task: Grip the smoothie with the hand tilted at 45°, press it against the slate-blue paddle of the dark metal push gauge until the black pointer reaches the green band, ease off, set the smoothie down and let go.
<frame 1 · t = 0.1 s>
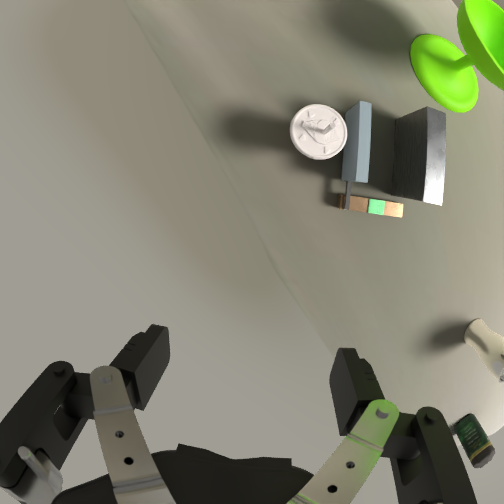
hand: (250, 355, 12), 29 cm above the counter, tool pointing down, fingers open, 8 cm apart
gauge frame: (373, 152, 36), on the counter
wineglass: (446, 71, 30), on the counter
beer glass: (473, 330, 42), on the counter
gauge paddle: (355, 158, 32), point 5 cm above the counter, slide at 0.0 cm
coffee jar: (464, 422, 50), on the counter
smoothie: (308, 142, 36), on the counter
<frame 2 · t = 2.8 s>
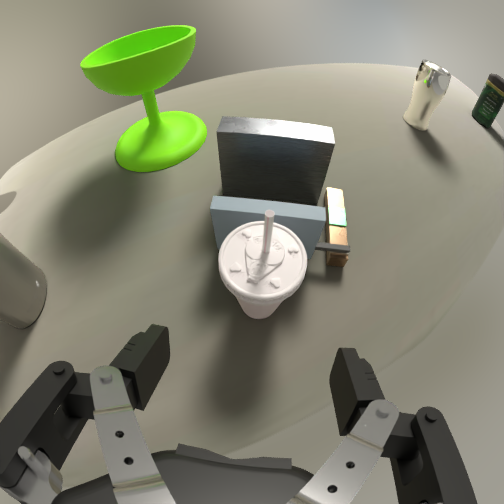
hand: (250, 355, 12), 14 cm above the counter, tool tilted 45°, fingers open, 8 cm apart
gauge frame: (267, 221, 33), on the counter
wineglass: (159, 139, 41), on the counter
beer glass: (414, 123, 47), on the counter
gauge paddle: (286, 232, 26), point 4 cm above the counter, slide at 0.0 cm
coffee jar: (480, 120, 55), on the counter
smoothie: (258, 302, 28), on the counter
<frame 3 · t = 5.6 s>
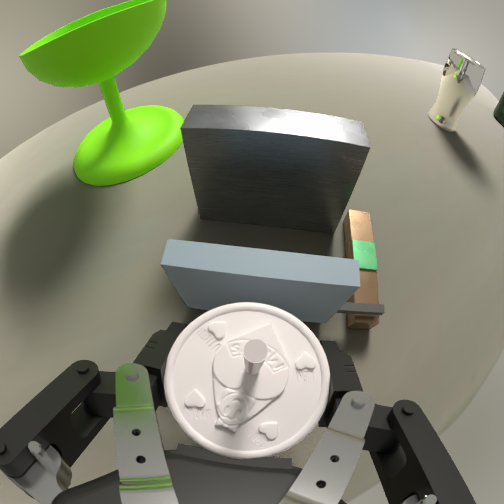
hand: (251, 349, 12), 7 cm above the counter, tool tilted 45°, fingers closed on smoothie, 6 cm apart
gauge frame: (263, 260, 22), on the counter
wineglass: (127, 142, 31), on the counter
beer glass: (441, 122, 37), on the counter
gauge paddle: (291, 292, 16), point 5 cm above the counter, slide at 0.0 cm
coffee jar: (502, 122, 44), on the counter
smoothie: (247, 386, 18), on the counter, touching gripper
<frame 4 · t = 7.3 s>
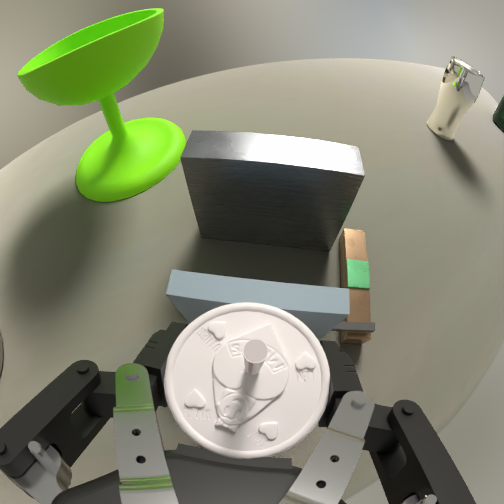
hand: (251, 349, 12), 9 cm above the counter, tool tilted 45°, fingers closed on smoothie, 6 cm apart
gauge frame: (261, 279, 24), on the counter
wineglass: (128, 156, 32), on the counter
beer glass: (439, 130, 37), on the counter
gauge paddle: (287, 314, 17), point 5 cm above the counter, slide at 0.0 cm
coffee jar: (501, 126, 45), on the counter
smoothie: (247, 386, 18), point 2 cm above the counter, touching gripper
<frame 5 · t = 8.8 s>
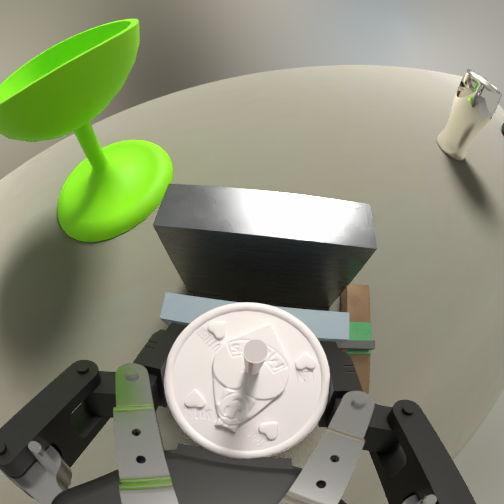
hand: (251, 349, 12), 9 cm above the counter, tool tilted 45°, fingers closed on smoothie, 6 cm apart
gauge frame: (253, 341, 21), on the counter
wineglass: (111, 186, 29), on the counter
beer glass: (450, 149, 35), on the counter
gauge paddle: (285, 335, 17), point 5 cm above the counter, slide at 4.1 cm, touching smoothie
smoothie: (247, 386, 18), point 2 cm above the counter, touching gauge paddle, gripper
when the fingers open (8 cm above the counter, at t = 11.2 s): smoothie stays where it is, on the counter.
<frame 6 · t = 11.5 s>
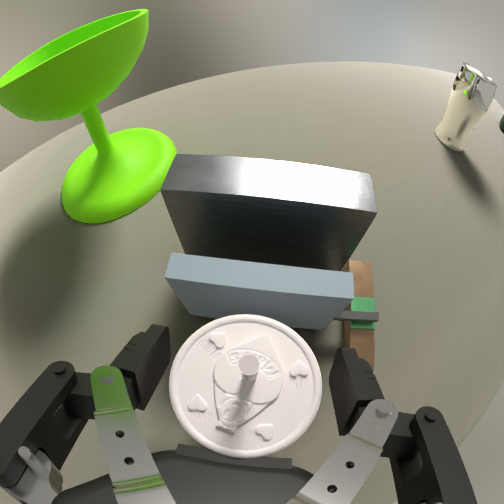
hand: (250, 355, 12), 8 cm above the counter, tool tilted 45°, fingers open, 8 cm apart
gauge frame: (256, 317, 21), on the counter
wineglass: (115, 171, 30), on the counter
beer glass: (448, 141, 35), on the counter
gauge paddle: (289, 301, 17), point 5 cm above the counter, slide at 4.2 cm
smoothie: (248, 389, 19), on the counter
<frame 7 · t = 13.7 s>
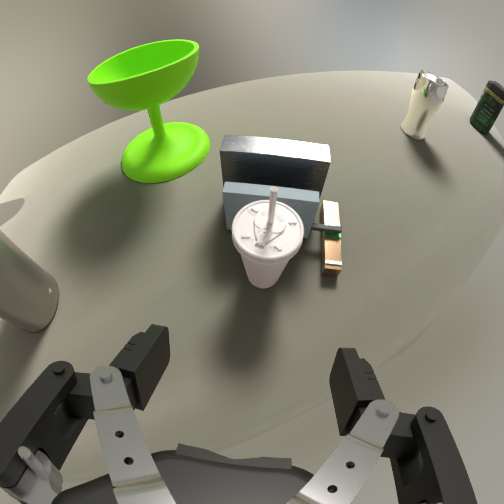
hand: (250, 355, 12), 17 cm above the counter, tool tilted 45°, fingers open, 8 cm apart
gauge frame: (267, 233, 35), on the counter
wineglass: (164, 150, 43), on the counter
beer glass: (411, 132, 49), on the counter
gauge paddle: (286, 213, 31), point 4 cm above the counter, slide at 4.2 cm
coffee jar: (478, 127, 57), on the counter
smoothie: (263, 274, 32), on the counter
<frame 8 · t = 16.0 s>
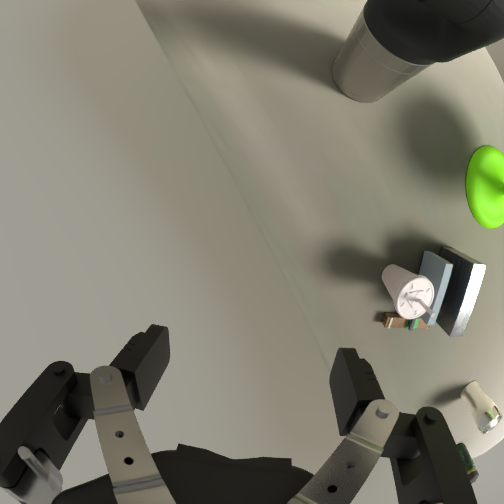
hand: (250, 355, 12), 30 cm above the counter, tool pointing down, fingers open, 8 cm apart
gauge frame: (418, 277, 41), on the counter
wineglass: (491, 187, 35), on the counter
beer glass: (468, 388, 48), on the counter
gauge paddle: (426, 298, 37), point 4 cm above the counter, slide at 4.2 cm
coffee jar: (455, 449, 56), on the counter
smoothie: (390, 274, 41), on the counter
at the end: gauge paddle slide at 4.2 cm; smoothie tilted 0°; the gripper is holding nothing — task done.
